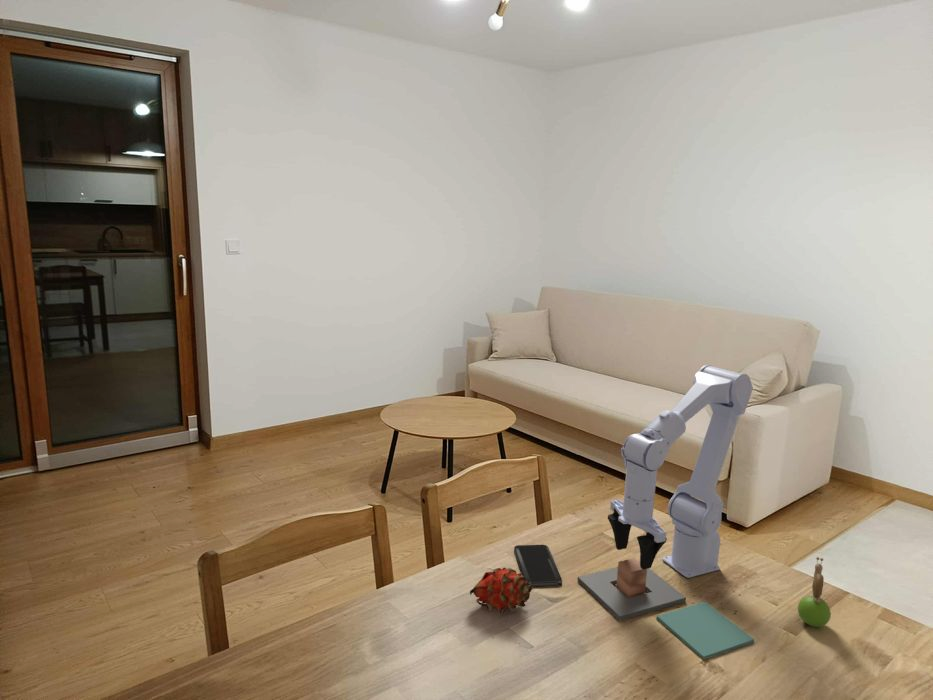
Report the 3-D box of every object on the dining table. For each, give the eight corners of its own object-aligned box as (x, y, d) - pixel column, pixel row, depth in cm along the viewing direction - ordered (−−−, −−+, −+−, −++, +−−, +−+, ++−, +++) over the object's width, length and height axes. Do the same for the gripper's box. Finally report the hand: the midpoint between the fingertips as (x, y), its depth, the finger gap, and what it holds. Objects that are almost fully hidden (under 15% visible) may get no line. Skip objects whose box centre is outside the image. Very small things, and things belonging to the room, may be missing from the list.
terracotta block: (631, 584, 130) (634, 557, 129) (644, 594, 126) (647, 567, 125) (616, 588, 128) (618, 561, 127) (628, 599, 125) (631, 572, 123)
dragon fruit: (535, 617, 121) (474, 624, 121) (529, 574, 126) (470, 580, 127) (535, 602, 114) (470, 609, 115) (528, 557, 120) (466, 564, 120)
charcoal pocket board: (639, 565, 137) (639, 561, 136) (685, 601, 124) (686, 597, 124) (577, 581, 130) (577, 576, 130) (619, 621, 118) (620, 616, 118)
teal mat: (704, 604, 124) (704, 601, 124) (754, 642, 113) (754, 639, 113) (656, 618, 119) (656, 615, 119) (703, 659, 108) (703, 656, 108)
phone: (525, 584, 128) (513, 545, 142) (525, 588, 128) (513, 549, 142) (563, 582, 128) (547, 544, 143) (563, 587, 129) (547, 548, 143)
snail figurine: (826, 616, 121) (836, 560, 118) (829, 636, 115) (839, 577, 112) (795, 608, 123) (803, 553, 120) (796, 627, 117) (805, 570, 115)
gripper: (600, 483, 128) (595, 544, 130) (647, 514, 115) (640, 581, 118) (628, 478, 130) (622, 537, 133) (677, 508, 117) (670, 573, 120)
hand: (633, 557), depth 126 cm, fingers open, 7 cm apart
